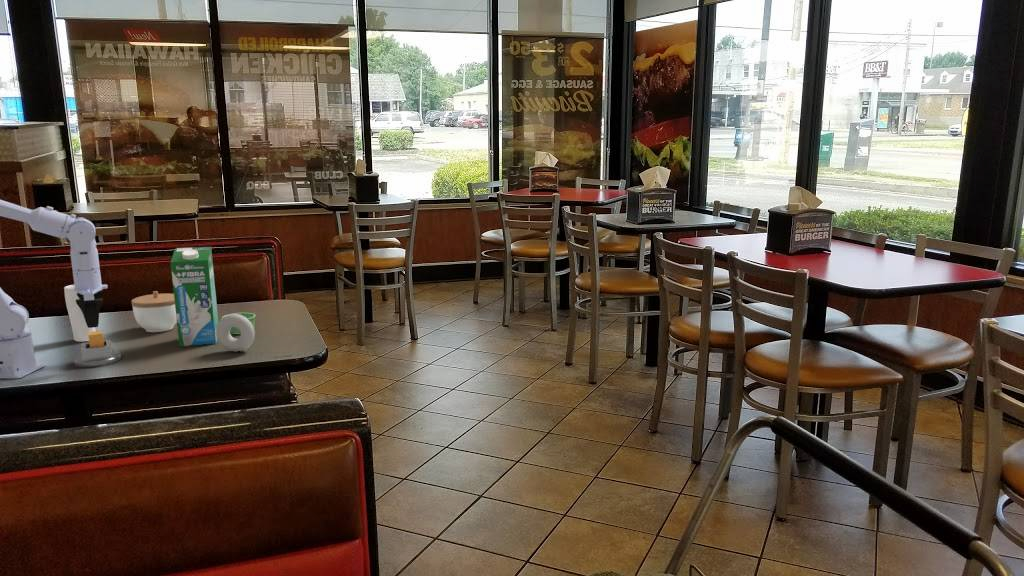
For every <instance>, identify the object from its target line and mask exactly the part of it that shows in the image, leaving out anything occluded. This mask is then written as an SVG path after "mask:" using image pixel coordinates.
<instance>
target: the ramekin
mask: <svg viewBox="0 0 1024 576" xmlns="http://www.w3.org/2000/svg"><path fill="white" fill-rule="evenodd" d="M230 314H231V313H229V314H225V315H223V316H222V317H221V319H222V318H223V317H225V316H227V315H230ZM232 314H239V315H242V316H244V317H246V318H247V319H248V320H249V321H250V322H251V324H252V325H253V327H254V328H256V325H255V322H256V320H255V319H256V314H255V313H254V312H253V313H252V312H235V313H232ZM230 333H231V335H233V334H234V333H241V332H240V330H239V329H238V328H237V327H232V328H231V329H230Z"/></svg>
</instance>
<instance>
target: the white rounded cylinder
mask: <svg viewBox="0 0 1024 576" xmlns="http://www.w3.org/2000/svg"><path fill="white" fill-rule="evenodd" d="M74 288H75V285H74V284H70V285H66V286H64V287H63V289H64V290H63V291H64V299H65V304H66V305H65V306H66V310H67V312H68V317H69V321H70V325H71V331H72V335H73V340H74V341H75V342H76V343H77V342H79V343H82V342H83V343H87V342H89V336H88V334H89V332H97V331H96V328H97V327H93V328H88V326H87V324H86V321H85V318H84V315H83V313H82V311H81V309H80V308H79V306H78V305H77V304H76V299H79V297H78V296H77V292H75V291H74Z"/></svg>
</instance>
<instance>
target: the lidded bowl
mask: <svg viewBox="0 0 1024 576" xmlns="http://www.w3.org/2000/svg"><path fill="white" fill-rule="evenodd" d="M131 306H132V311H133V316H134V318H135V319H134V320H136V321H135V322H137V324H138V325H139V326H140V327H141V328H143V329H144V330H145V332H147V333H162V332H167V331H171V330H173V329H174V327H175V325H177V319H176V309H175V300H174V293H159V291H157V290H155V291H154V290H153V291H152V293H151V294H145V295H142V296H137V297H135V298H133V299H131Z"/></svg>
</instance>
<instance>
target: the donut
mask: <svg viewBox="0 0 1024 576" xmlns="http://www.w3.org/2000/svg"><path fill="white" fill-rule="evenodd" d="M229 314H230V315H228V314H226V315H227V316H225V315H224V316H225V317H223V316H222V317H223V318H222V317H221V319H219V320H218V325H217V327H216V335H217V342H219V344H220V345H221V346H222V347H223V348H224V349H226V350H227V351H230V352H233V351H234V352H233V353H238V352H237V351H240V352H244V351H246V350H247V349H249V348H250V346H252V344H253V343H254V341H255V335H256V333H255V329H254V327H253V325H252V324H251V322H250V321H249V320H248V319H247V318H246V317H244V316H242V315H239V314H233V313H229ZM232 327H237V328H238V329H239V330H240V332H241V334H240V336H239V338H235V337H233V335H232V334H230V329H231V328H232Z"/></svg>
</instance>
